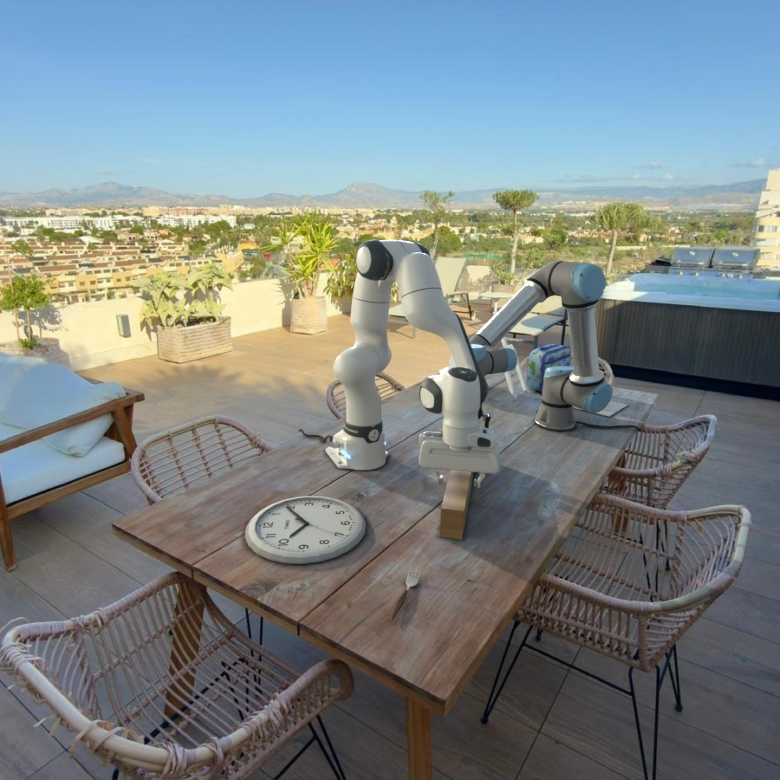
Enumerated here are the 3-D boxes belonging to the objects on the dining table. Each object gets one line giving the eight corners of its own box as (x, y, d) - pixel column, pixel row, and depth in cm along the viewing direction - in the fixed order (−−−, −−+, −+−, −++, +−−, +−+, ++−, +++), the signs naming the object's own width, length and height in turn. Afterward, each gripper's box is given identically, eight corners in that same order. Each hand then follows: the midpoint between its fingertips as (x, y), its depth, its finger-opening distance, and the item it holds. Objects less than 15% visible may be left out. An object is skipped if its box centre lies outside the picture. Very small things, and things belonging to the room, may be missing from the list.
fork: (385, 619, 101) (385, 611, 101) (410, 571, 116) (411, 563, 115) (398, 623, 100) (398, 614, 100) (422, 574, 115) (422, 566, 114)
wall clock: (368, 555, 118) (233, 560, 116) (368, 561, 119) (233, 566, 116) (363, 491, 147) (255, 494, 144) (363, 496, 147) (255, 499, 145)
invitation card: (608, 416, 214) (573, 407, 224) (608, 416, 214) (573, 408, 224) (628, 404, 229) (594, 396, 238) (628, 405, 229) (594, 397, 238)
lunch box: (542, 396, 239) (547, 351, 232) (522, 391, 246) (526, 347, 240) (570, 385, 256) (575, 343, 250) (550, 380, 263) (554, 339, 257)
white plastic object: (461, 429, 252) (437, 405, 227) (444, 352, 274) (420, 323, 250) (535, 404, 240) (518, 377, 215) (510, 326, 262) (492, 293, 237)
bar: (459, 453, 177) (460, 432, 174) (476, 455, 176) (477, 433, 173) (439, 536, 129) (440, 508, 127) (462, 540, 128) (464, 511, 126)
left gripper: (416, 435, 128) (415, 486, 132) (502, 442, 123) (498, 494, 127) (420, 426, 134) (419, 475, 138) (502, 432, 129) (499, 483, 133)
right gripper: (439, 395, 160) (435, 464, 167) (500, 401, 156) (495, 471, 163) (442, 388, 167) (438, 455, 174) (501, 393, 163) (495, 461, 170)
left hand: (458, 484), depth 132 cm, fingers open, 8 cm apart
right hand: (466, 462), depth 169 cm, fingers closed on bar, 6 cm apart
